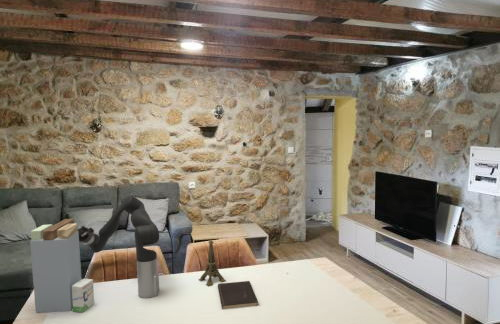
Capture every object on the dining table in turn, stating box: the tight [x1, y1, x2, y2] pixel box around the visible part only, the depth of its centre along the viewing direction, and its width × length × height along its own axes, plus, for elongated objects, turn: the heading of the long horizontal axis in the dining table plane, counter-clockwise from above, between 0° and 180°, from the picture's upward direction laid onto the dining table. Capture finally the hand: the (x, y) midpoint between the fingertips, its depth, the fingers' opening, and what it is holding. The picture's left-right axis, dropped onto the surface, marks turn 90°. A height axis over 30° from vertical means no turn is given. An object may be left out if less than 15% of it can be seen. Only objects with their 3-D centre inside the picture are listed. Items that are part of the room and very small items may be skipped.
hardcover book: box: [217, 280, 259, 310], centre depth 172 cm, size 16×23×2 cm
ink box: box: [72, 278, 95, 313], centre depth 163 cm, size 9×5×12 cm, turn 168°
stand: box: [29, 231, 83, 314], centre depth 165 cm, size 15×13×32 cm
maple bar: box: [57, 222, 78, 239], centre depth 164 cm, size 4×11×4 cm, turn 4°
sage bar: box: [30, 223, 53, 241], centre depth 163 cm, size 4×11×4 cm, turn 4°
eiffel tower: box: [198, 240, 227, 287], centre depth 189 cm, size 11×11×25 cm
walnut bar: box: [43, 218, 75, 241], centre depth 168 cm, size 4×22×4 cm, turn 4°
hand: (73, 228), depth 183 cm, fingers open, 8 cm apart
